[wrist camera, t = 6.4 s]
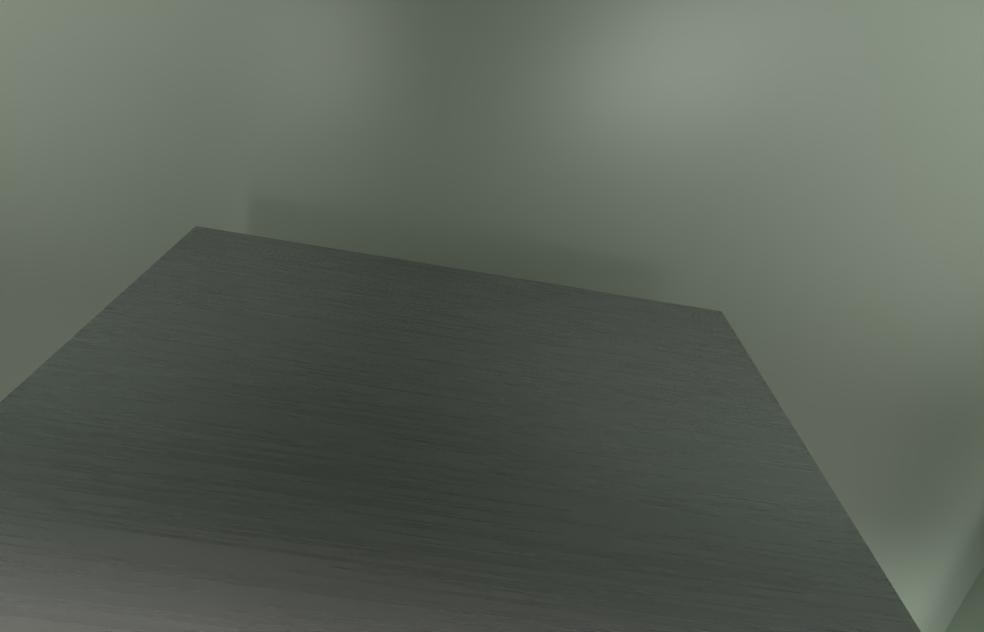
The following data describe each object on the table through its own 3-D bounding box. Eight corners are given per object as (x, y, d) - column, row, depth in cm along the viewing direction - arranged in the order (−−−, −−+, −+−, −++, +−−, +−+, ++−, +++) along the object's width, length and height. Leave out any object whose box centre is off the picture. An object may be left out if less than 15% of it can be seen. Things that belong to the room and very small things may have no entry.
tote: (-135, 608, 13) (-318, 798, 10) (-382, -376, 7) (-961, -590, 4) (881, 737, 14) (980, 942, 11) (1337, -24, 8) (1773, -12, 6)
